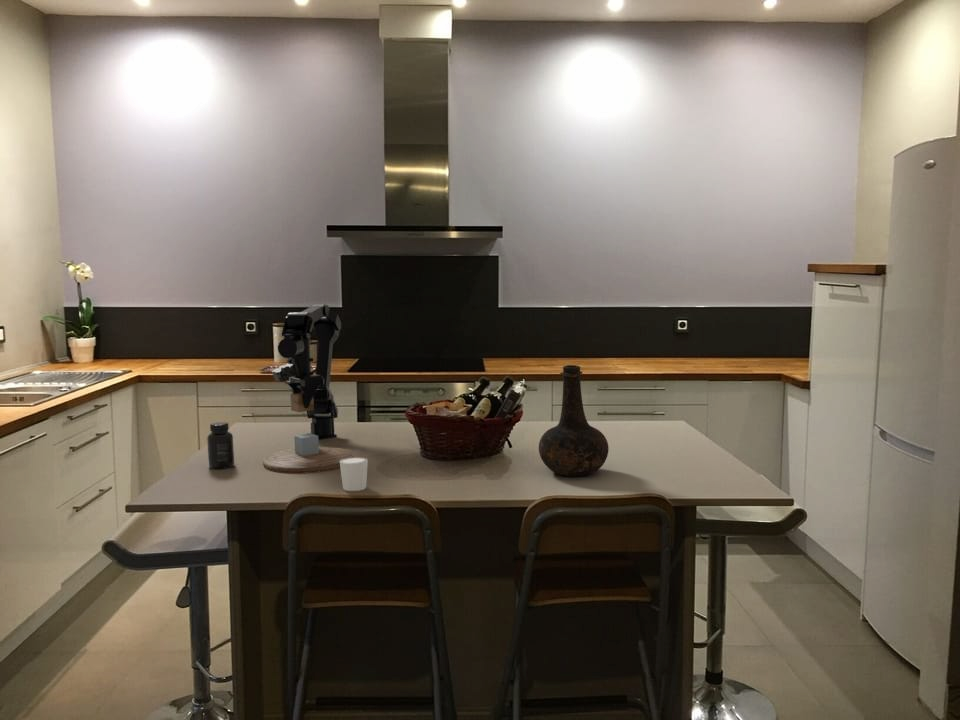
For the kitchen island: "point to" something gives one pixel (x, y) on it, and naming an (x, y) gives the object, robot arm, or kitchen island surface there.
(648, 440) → the kitchen island surface
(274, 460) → the trivet
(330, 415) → the robot arm
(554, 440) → the glass bottle
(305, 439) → the slate block
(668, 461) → the kitchen island surface
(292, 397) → the walnut block
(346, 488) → the white cup
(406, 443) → the kitchen island surface
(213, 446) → the supplement bottle
